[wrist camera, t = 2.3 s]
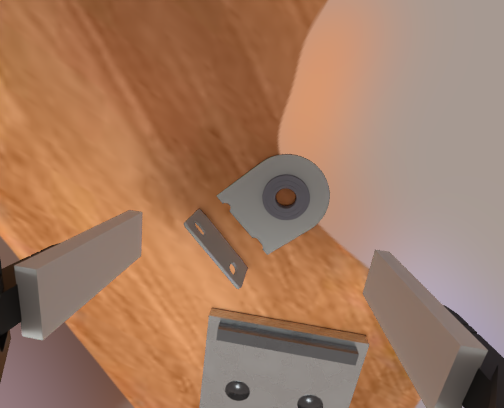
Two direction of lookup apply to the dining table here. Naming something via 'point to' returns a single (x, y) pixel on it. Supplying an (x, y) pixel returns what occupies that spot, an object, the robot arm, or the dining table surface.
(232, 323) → the mount plate
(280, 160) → the bracket
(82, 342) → the dining table surface
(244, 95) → the dining table surface
